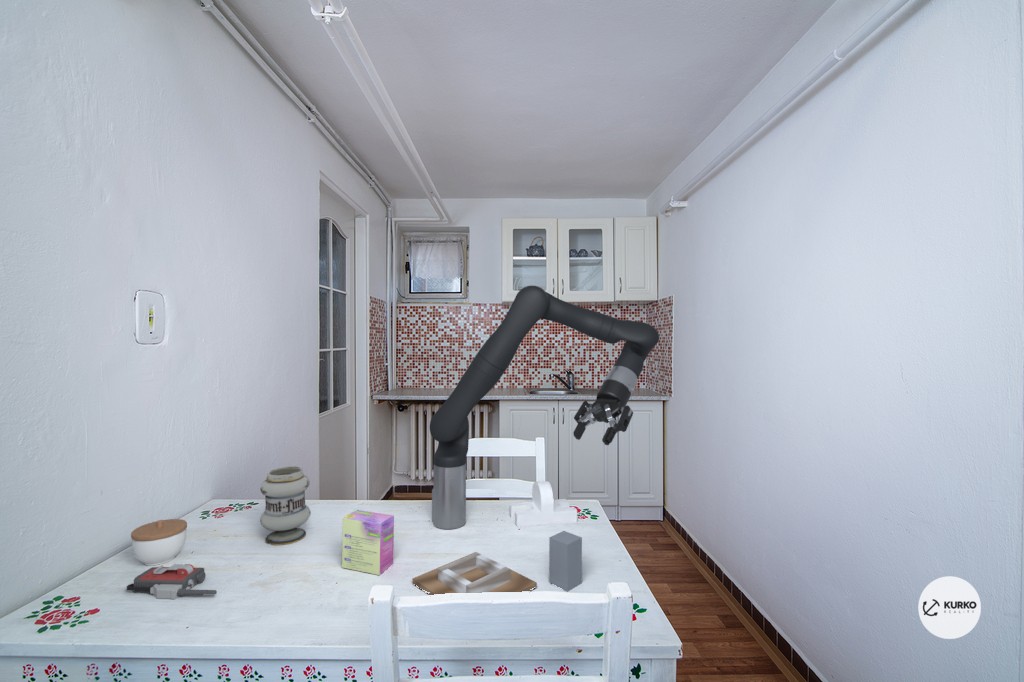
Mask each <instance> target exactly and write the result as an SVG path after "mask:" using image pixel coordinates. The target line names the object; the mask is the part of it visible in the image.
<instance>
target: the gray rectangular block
mask: <svg viewBox="0 0 1024 682" xmlns="http://www.w3.org/2000/svg"><path fill="white" fill-rule="evenodd" d="M548 541H549V543H548V545H549V551H548V553H549V556H548V557H549V559H548V564H549V567H548V568H549V571H548V573H549V575H548V576H549V579H548V580H549V581H548V583H549V582H550V583H552V584H554V585H556V586H557V587H556V586H555V587H556V588H558V587H560V588H562V589H563V592H566V593H568V592H570V591H571V590H574V589H575V588H576V587H578V586H579V585H581V584H583V583H582V582H583V578H582V577H583V576H582V575H583V572H582V571H583V569H582V568H583V537H581V536H579V535H576V534H574V533H571V532H569V531H566V530H562V531H560V532H558V533H556V534H554V535H552V536H550V537H549V540H548ZM550 583H549V584H550ZM552 584H551V585H552ZM554 585H553V586H554ZM560 588H559V589H560ZM562 589H561V590H562Z"/></svg>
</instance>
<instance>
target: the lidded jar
mask: <svg viewBox="0 0 1024 682" xmlns="http://www.w3.org/2000/svg"><path fill="white" fill-rule="evenodd" d="M187 527H188V522H187V521H186V520H185V519H179V518H168V519H159V520H156V521H152V522H148V523H145V524H144V525H141V526H138V527H136V528H134V529H133V531H131V532H130V539H131V547H132V549H131V550H132V552H133V555H134V556H135V558H136V560H138V561H139V562H141V563H142V564H143V565H145V566H147V567H148V566H149V567H151V566H152V567H153V566H154V567H155V566H161V565H162V564H166V563H169V562H171V561H173V560H174V559H175V558H176V556H177V555H178V554H179V553H180V552H181V550H182V549H183V547H184V546H185V542H186V538H187Z"/></svg>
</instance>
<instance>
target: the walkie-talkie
mask: <svg viewBox="0 0 1024 682" xmlns="http://www.w3.org/2000/svg"><path fill="white" fill-rule="evenodd" d="M206 576H207V575H206V572H205V567H194V566H193V564H187V563H185V564H182V563H174V564H172V565H171V566H164V565H162V564H160V565H159V566H156V567H155V566H154V567H153V566H152V567H150V568H149V569H147V570H145V571H143V572H142V573H140V574H139V575H137V576H135V577H134V579H133V583H129V584H128V585H127V586H126V591H132V592H133V593H135V594H152V595H153V596H154V597H155V598H156V600H157V599H160V600H161V599H163V600H164V599H165V600H166V599H167V600H168V599H169V600H176V599H177V598H179V597H183V596H203V595H217V590H216V589H193V588H194V587H196V586H198V584H200V583H203V582H204V581H205V579H206Z"/></svg>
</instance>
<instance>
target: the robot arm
mask: <svg viewBox="0 0 1024 682" xmlns="http://www.w3.org/2000/svg"><path fill="white" fill-rule="evenodd" d="M540 320H545V321H550V322H554V323H557V324H561V325H563V326H565V327H567V328H570V329H573V330H575V331H577V332H579V333H580V334H584V335H586V336H588V337H591V338H593V339H596V340H599V341H601V342H605V343H607V344H611V345H614V344H617V343H618V342H621V341H624V342H625V343H624V344H623V346H622V349H621V352H620V354H619V356H618V357H617V359H616V360H615V361H614V364H613V366H612V368H611V369H610V370H609V372H608V373H607V374H606V377H605V379H604V381H603V382H602V384H601V386H600V388H599V390H598V392H597V393H596V399H595V401H594V402H593V403H589V401H588V400H584V401H583V402H581V403H582V404H581V405H580V407H579V408H578V410H577V411H576V413H575V415H574V416H573V419H574V421H575V422H576V423H577V425H576V426H575V428H574V430H573V437H574V438H575V439H576V440H577V441H580V440H581V439H582V436H583V434H584V433H585V431H586V429H587V427H588V426H590V425H594V424H595V423H597V422H598V423H602V422H604V423H605V424H609V426H607V429H606V431H605V432H604V434H603V437H602V441H601V442H602V443H603V444H604V445H605V446H609V445H610V444H611V443H612V442H613V440H614V439H615V436H616V435H617V434H618V433H619V432H622V433H625V432H627V430H628V427H629V425H630V422H631V420H632V419H633V418H632V417H633V415H634V412H633V410H632V408H631V407H630V405H627V404H628V402H629V400H630V398H631V396H632V394H633V392H634V390H635V387H636V385H637V381H638V380H639V378H640V376H641V374H642V372H643V369H644V367H645V366H644V365H645V361H646V359H647V358H648V356H649V355H650V353H651V352H652V351H653V349H654V348H655V347H656V345H658V343H659V340H660V334H659V332H658V330H657V329H656V327H654V326H653V325H651V324H650V323H646V322H643V321H638V320H636V321H635V320H629V319H628V320H627V319H618V318H616V317H613V316H610V315H608V314H604V313H602V312H599V311H596V310H592V309H588V308H584V307H582V306H578V305H576V304H572V303H569V302H567V301H565V300H562V299H559V298H558V297H556V296H554V295H552V294H550V293H549V292H546V291H545V289H543V288H542V287H540V286H537V285H527V286H524V287H522V288H521V289H520V290H519V291H518V292H517V293H516V295H515V297H514V300H513V302H512V303H511V306H510V307H509V309H508V310H507V313H506V315H505V316H504V318H503V319H502V321H501V323H500V324H499V326H498V327H497V328H496V329H495V330H494V331H493V332H492V334H491V335H490V336H489V338H488V339H487V340H486V341H485V342H484V343H483V345H482V346H481V347H480V349H479V350H478V352H477V353H476V355H475V356H474V358H472V360H471V362H470V363H469V364H468V367H467V369H466V370H465V371H464V373H463V375H462V376H461V378H460V379H459V381H458V383H457V385H456V386H455V388H454V389H453V391H452V392H451V394H450V395H449V396H448V398H447V399H446V400H445V401H444V402H443V403H442V405H441V406H440V407H439V408H438V409H437V410H436V411H435V413H434V414H433V415H432V417H431V419H430V421H429V433H430V435H431V437H432V438H433V440H435V441H437V442H438V444H437V448H436V450H435V452H434V455H433V488H432V489H431V522H433V525H434V527H435V528H438V529H440V530H441V529H442V530H454V529H459V528H461V527H463V526H465V525H466V523H467V522H466V521H467V519H466V518H467V514H466V513H467V512H466V511H467V456H468V451H469V440H470V435H469V434H470V433H469V432H470V423H469V415H470V413H471V412H472V410H473V409H474V407H475V406H476V405H477V404H478V403H479V402H480V401H482V399H483V398H484V397H485V396H486V395H487V394H488V393H489V392H490V391H491V390H492V389H493V388H494V387H495V386H496V385H497V383H498V382H499V380H500V379H501V378H502V376H503V375H504V373H506V370H507V369H508V368H509V366H510V364H511V363H512V361H513V359H514V357H515V356H516V353H517V352H518V350H519V347H520V345H521V343H522V342H523V341H524V339H525V337H526V336H527V334H528V333H529V332H530V331H531V329H532V328H534V326H535V325H536V324H537V323H538V321H540ZM619 416H620V417H619ZM618 417H619V419H617V418H618Z"/></svg>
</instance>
